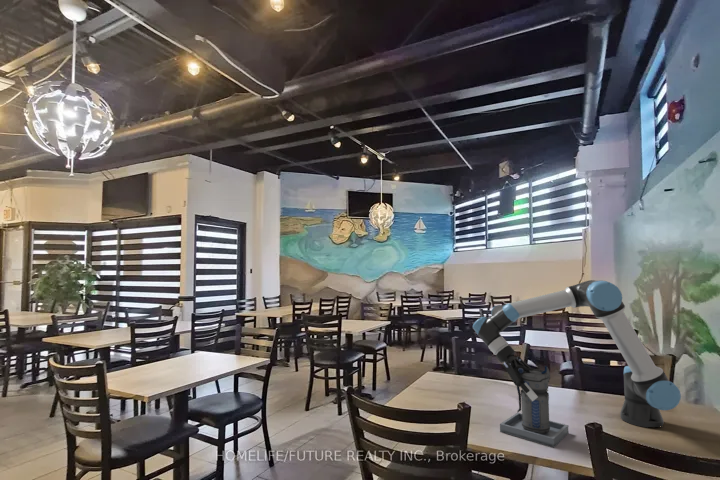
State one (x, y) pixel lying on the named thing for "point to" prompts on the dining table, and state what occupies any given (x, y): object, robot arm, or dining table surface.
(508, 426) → the tray
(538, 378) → the beverage bottle
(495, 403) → the dining table surface
